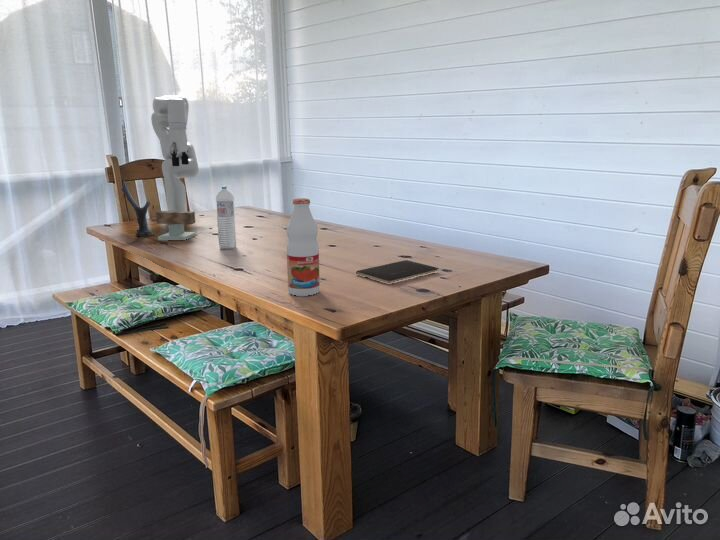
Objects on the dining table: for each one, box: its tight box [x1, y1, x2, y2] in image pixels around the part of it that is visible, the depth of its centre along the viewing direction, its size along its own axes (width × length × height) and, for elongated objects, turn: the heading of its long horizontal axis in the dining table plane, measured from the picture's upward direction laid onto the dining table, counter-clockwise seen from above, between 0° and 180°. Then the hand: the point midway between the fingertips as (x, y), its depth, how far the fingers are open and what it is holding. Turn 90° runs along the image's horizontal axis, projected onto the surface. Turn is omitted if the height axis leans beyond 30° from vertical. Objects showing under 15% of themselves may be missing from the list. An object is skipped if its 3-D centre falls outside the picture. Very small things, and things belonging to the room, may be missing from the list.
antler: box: [120, 180, 154, 238], centre depth 257 cm, size 12×8×25 cm
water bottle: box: [215, 185, 237, 250], centre depth 232 cm, size 7×7×25 cm
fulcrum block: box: [157, 224, 197, 241], centre depth 255 cm, size 12×12×6 cm
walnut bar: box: [155, 210, 196, 225], centre depth 254 cm, size 16×4×5 cm, turn 82°
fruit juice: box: [286, 198, 321, 297], centre depth 170 cm, size 9×9×28 cm
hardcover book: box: [355, 259, 440, 283], centre depth 194 cm, size 16×23×2 cm
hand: (180, 165), depth 266 cm, fingers open, 9 cm apart
